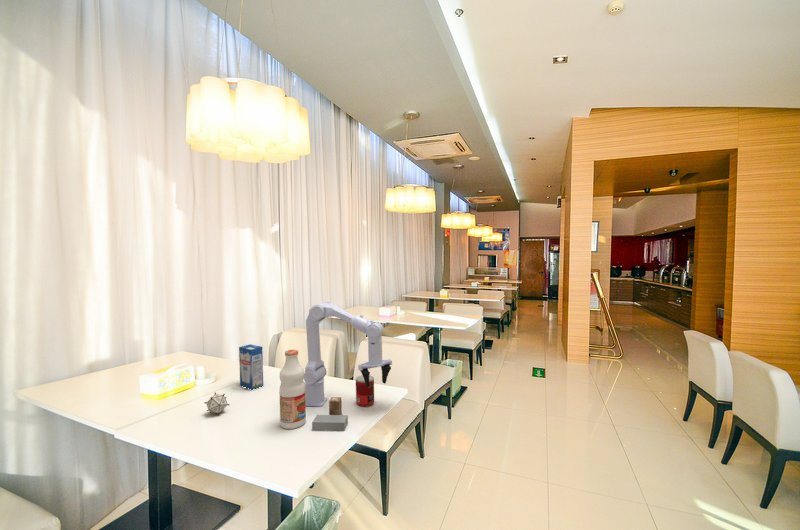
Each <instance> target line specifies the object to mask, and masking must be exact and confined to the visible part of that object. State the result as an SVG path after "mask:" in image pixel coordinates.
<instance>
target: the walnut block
mask: <svg viewBox="0 0 800 530" xmlns="http://www.w3.org/2000/svg"><path fill="white" fill-rule="evenodd" d="M342 405H343V404H342V397H340V396H339V397H338V396H336V397H335V396H334V397H333V396H332V397H331V398H330V399H329V400H328V411H329V412H328V415H343V411H342V410H343V409H342V407H343V406H342Z"/></svg>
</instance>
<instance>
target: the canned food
mask: <svg viewBox="0 0 800 530" xmlns="http://www.w3.org/2000/svg"><path fill="white" fill-rule="evenodd" d="M355 403H356V404H357V406H360V407H365V408H366V407H370V406H372V405H373V404H374V403H375V377H374V376H372V375H371V374H370V375H369V387H367V386H366V385H365V380H364V377H363V375H362V374H361V375H359V376H356V377H355Z"/></svg>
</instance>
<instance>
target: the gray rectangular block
mask: <svg viewBox="0 0 800 530" xmlns="http://www.w3.org/2000/svg"><path fill="white" fill-rule="evenodd" d="M348 418H349V417H348V414H342V415H329V414H316V416H315V417H314V419H313V420H312V422H311V429H312V430H311V431H322V430H327V431H329V432H330V431H337V432H338V431H339V432H340V431H341V432H343V431H345V430H346V429H347V426H348V423H349V421H348V420H349V419H348Z"/></svg>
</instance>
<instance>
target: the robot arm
mask: <svg viewBox="0 0 800 530" xmlns="http://www.w3.org/2000/svg"><path fill="white" fill-rule="evenodd" d="M364 316H365V315H364V314H357V315H353V314H351V313H349V312H347V311H346V310H344V309H342V308H340V307H339V306H337V305H336V304H334V303H330V302H329V301H324V302H322V303H317V304H315V305H313V306H312V307H310V308H309V310H308V315H307V318H306V320H305V328H306V329H305V330H306V344H307V358H308V359H307V360H308V361H307V364H306V365H305V367H304V379H303V381H304V384H305V405H306V407H323V405H324V404H325V403H326V401H327V399H328V397H325V384H324V382H325V377H326V375H327V368H326V366H325V361H323V360H322V355H321V351H322V350H321V337H320V336H321V335H320V323H322V322H323V321H324V320H325V319H326V318H329V317H330V318H331V317H336V318H338V319H340V320H342V321H345V322H348V323H350V325H351V327H352V328H353V329H355V330H357V331H360V332H361V333H364V334H365V335H366V337H367V340H368V341H367V346H368V347H367V350H368V351H367V353H368V355H367V357H368V361H367V362H364V363H361V364H358V365H357V367H358V370H359V371H360V374H361V376H362V375H363V377H364V380H365V385H366V386H367V387H369V375H370V376H371V374H370V373H371V372H370V371H369V369H374V368H381V382H382V383H383V384H387V379H388V376H389V373H390V371H391V369H392V366H393V360H392V359H383V341H382V340H383V338H382V335H383V333H384V326H383V325H382V323H380V322H379V321H374V320H372V319H368V318H366V317H364Z"/></svg>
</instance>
